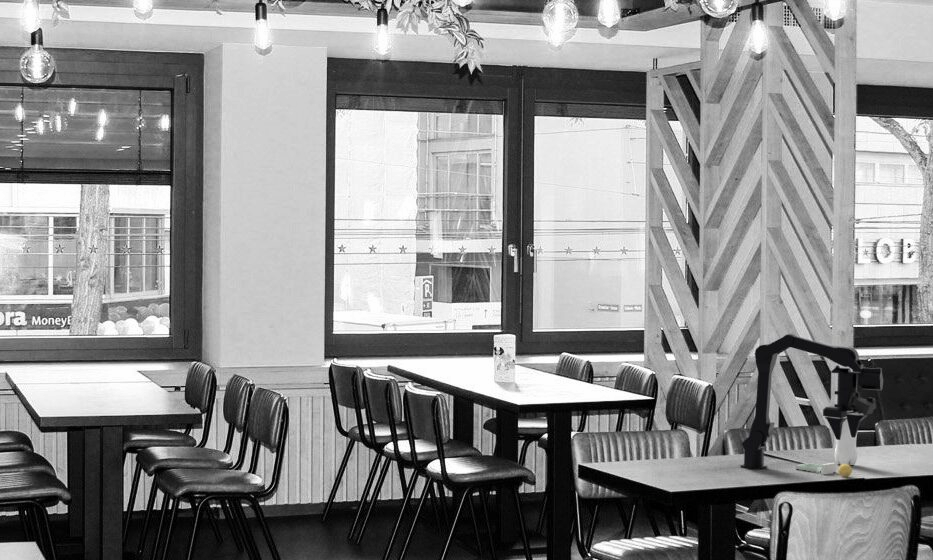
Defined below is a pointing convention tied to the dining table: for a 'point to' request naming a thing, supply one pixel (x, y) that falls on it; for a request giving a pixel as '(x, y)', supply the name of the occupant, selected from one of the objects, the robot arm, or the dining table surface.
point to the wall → (828, 468)
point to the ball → (845, 470)
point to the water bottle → (846, 447)
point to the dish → (809, 467)
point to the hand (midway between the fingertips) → (845, 438)
